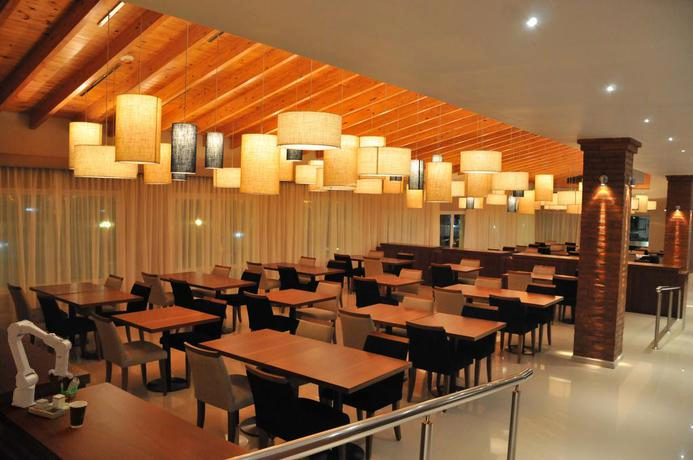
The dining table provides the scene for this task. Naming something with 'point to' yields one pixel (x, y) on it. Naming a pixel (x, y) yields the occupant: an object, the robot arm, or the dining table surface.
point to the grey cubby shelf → (48, 411)
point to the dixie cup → (77, 413)
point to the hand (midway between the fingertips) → (59, 389)
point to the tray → (64, 406)
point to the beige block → (41, 404)
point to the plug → (59, 401)
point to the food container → (70, 389)
